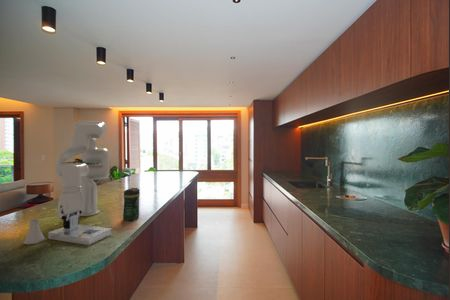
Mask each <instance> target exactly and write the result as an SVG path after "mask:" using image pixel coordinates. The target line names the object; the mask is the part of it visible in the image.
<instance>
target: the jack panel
mask: <svg viewBox="0 0 450 300" xmlns="http://www.w3.org/2000/svg"><path fill="white" fill-rule="evenodd" d="M111 235H112V228H109V227H101V226H93V225H86V224H80V223H79V225H78V229H76V230H73V231H64V226H62V227H59V228H57V229H54V230H51V231H48V239H49V240H55V241H61V242H67V243H73V244H79V245H85V246H90V245H93V244H95V243H97V242H98V241H100V240H103V239H105V238H107V237H109V236H111Z"/></svg>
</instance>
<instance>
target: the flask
mask: <svg viewBox="0 0 450 300" xmlns="http://www.w3.org/2000/svg"><path fill="white" fill-rule="evenodd" d="M39 221H40V219H39V218H34V219H33V218H32V219H30V220H29V223H30V225H29V230H28V232H27V234H26V237H25V239H24V241H23V243H22V244H23V245H28V246H29V245H35V244H39V243H41V242H43V241H44V240H45V236H44V234H43V233H42V231H41V229H40V225H39Z"/></svg>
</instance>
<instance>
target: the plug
mask: <svg viewBox="0 0 450 300" xmlns="http://www.w3.org/2000/svg"><path fill="white" fill-rule="evenodd" d="M69 220H70V228H69V229H65V228H64V231H73V230H76V229H78V215H77V214H73V213H71V214H70V215H69Z"/></svg>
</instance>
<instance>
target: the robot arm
mask: <svg viewBox="0 0 450 300" xmlns="http://www.w3.org/2000/svg"><path fill="white" fill-rule="evenodd" d="M107 130H108V129H107V124H106V123H105V122H104V121H96V120H78V121H75V123H74V129H73V134H72V138H71V144H70V145H69V146H68V147H67V148H66V149H64V150H63V151H62V152H61V153H60V154H59V156H58V158H57V160H56V164H55V165H56V166H55V175H56V176H57V177H58V178H61V183H62V184H61V192H60V193H59V197H58V204H57V214H56V218H59V219H61V220H62V221H63V223H62V224H63V226H62V227H64V228H65V229H69V228H70V220H69V215H70V214H71V213H73V214H77V215H78V225H79V224H80V222H79V218H80V217H89V216H91V217H92V216H95V215H97V214H99V213H100V210H99V209H98V185H97V183H96V182H95V181H94V180H105V179H106V180H107V179H108V178H109V177H110V151H109V150H108V149H107V148H105V147H103V148H101V147H97V146H98V145H97V141H98V140H97V139H101V138H103V137H104V135H105V134H106V133H107ZM80 154H81V155H80ZM78 155H80V156H81V157H80V158H81V161H82V162H67V161H68V160H69V159H70V158H73V157H75V156H78ZM87 163H89V164H87ZM93 163H95V164H93ZM98 163H99V164H98Z"/></svg>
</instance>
